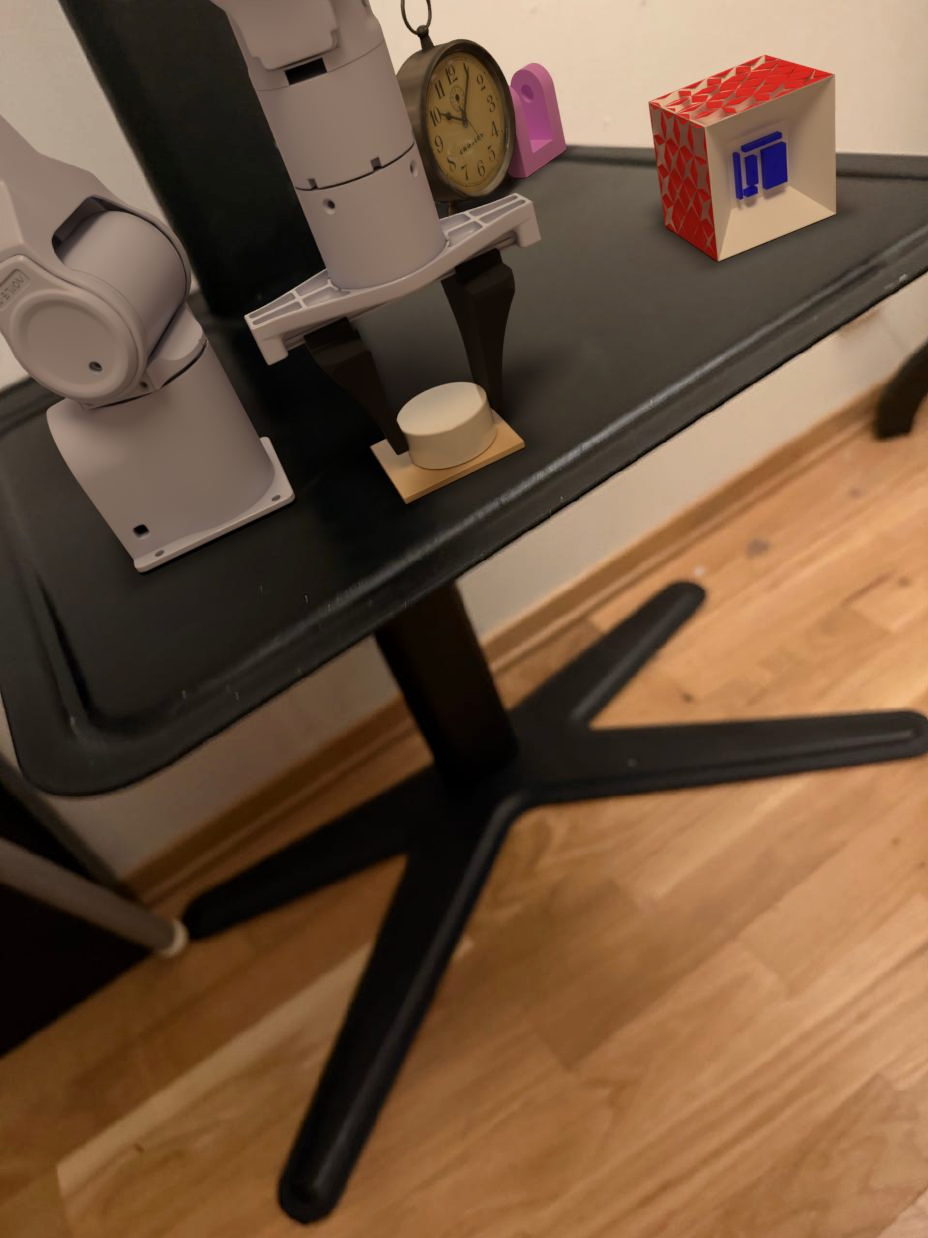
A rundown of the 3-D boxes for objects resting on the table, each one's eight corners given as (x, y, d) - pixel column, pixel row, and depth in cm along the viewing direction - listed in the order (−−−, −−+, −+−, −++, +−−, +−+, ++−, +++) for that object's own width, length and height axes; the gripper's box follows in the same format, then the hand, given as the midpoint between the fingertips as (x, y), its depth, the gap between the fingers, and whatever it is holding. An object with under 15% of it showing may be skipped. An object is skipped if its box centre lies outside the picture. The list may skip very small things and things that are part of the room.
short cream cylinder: (426, 482, 47) (413, 447, 45) (397, 442, 50) (384, 409, 49) (511, 440, 47) (500, 404, 46) (477, 405, 51) (466, 370, 49)
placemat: (406, 504, 47) (403, 498, 46) (372, 451, 51) (369, 446, 51) (525, 447, 47) (523, 440, 47) (481, 400, 52) (479, 394, 52)
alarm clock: (458, 239, 71) (388, 2, 60) (409, 238, 74) (334, 14, 63) (534, 177, 76) (483, -52, 65) (485, 179, 79) (428, -38, 68)
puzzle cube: (772, 182, 62) (765, 54, 56) (836, 213, 56) (835, 73, 50) (663, 226, 62) (646, 101, 56) (716, 262, 56) (703, 127, 50)
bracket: (566, 148, 79) (549, 60, 74) (526, 177, 76) (505, 88, 72) (463, 150, 87) (442, 71, 82) (424, 176, 85) (400, 96, 80)
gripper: (468, 85, 43) (534, 341, 52) (190, 208, 42) (306, 448, 51) (528, 105, 38) (590, 386, 47) (211, 247, 36) (337, 507, 45)
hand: (445, 422), depth 48 cm, fingers closed on short cream cylinder, 5 cm apart
